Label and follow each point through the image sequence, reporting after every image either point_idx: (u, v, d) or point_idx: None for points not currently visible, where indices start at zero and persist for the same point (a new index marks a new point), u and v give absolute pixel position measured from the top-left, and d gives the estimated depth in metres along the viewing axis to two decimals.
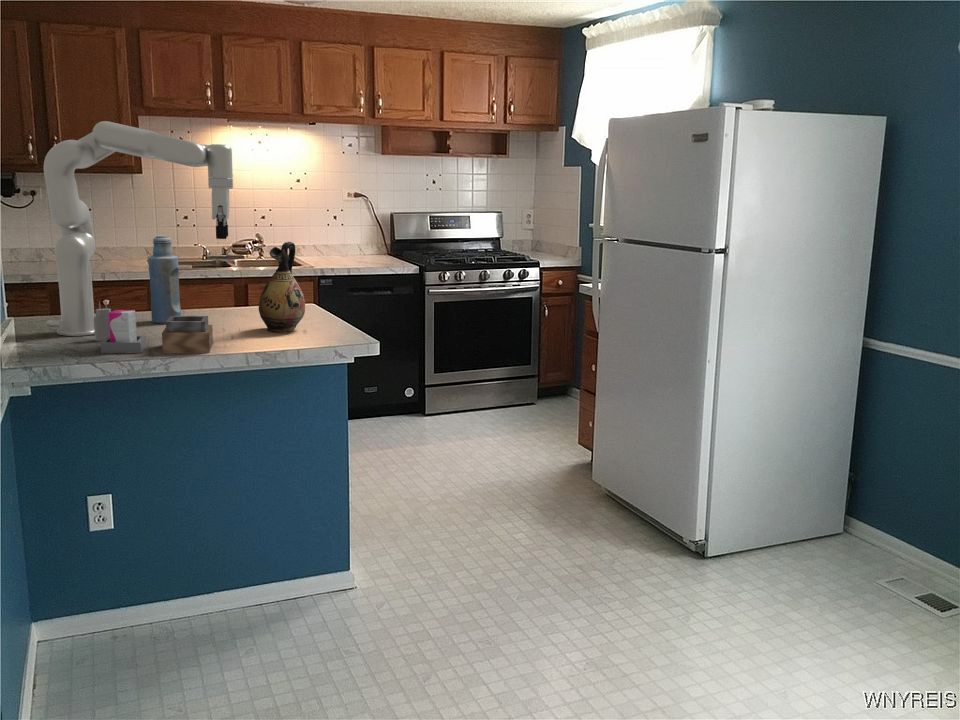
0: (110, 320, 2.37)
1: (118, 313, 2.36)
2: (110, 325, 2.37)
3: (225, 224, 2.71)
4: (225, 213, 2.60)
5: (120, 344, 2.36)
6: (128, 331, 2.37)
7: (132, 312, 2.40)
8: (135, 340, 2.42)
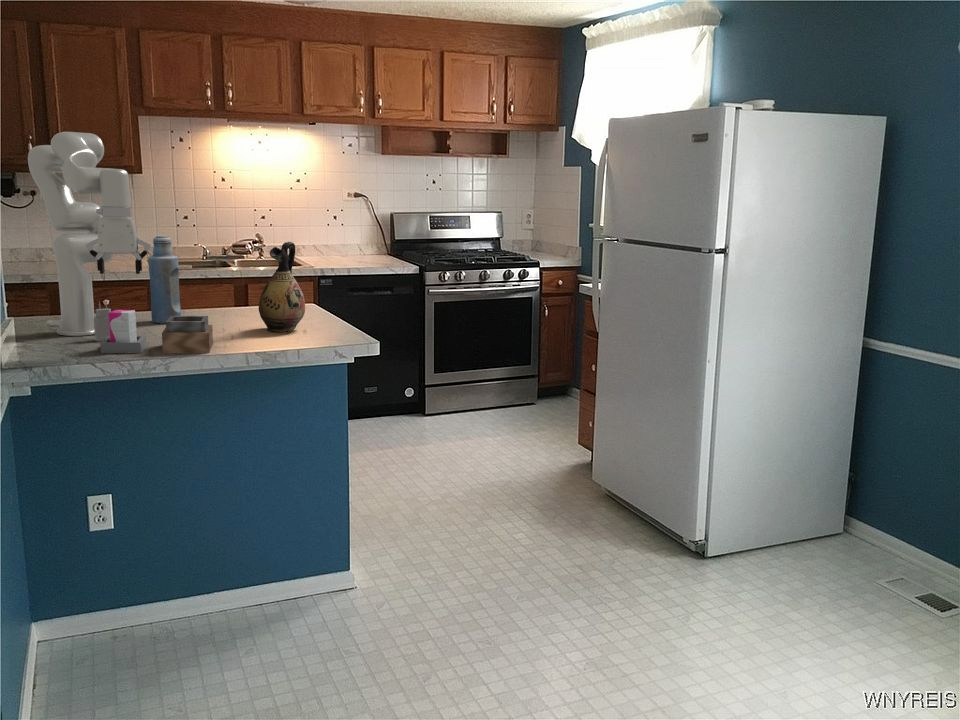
0: (110, 320, 2.37)
1: (118, 313, 2.36)
2: (110, 325, 2.37)
3: None
4: (137, 245, 2.37)
5: (120, 344, 2.36)
6: (128, 331, 2.37)
7: (132, 312, 2.40)
8: (135, 340, 2.42)
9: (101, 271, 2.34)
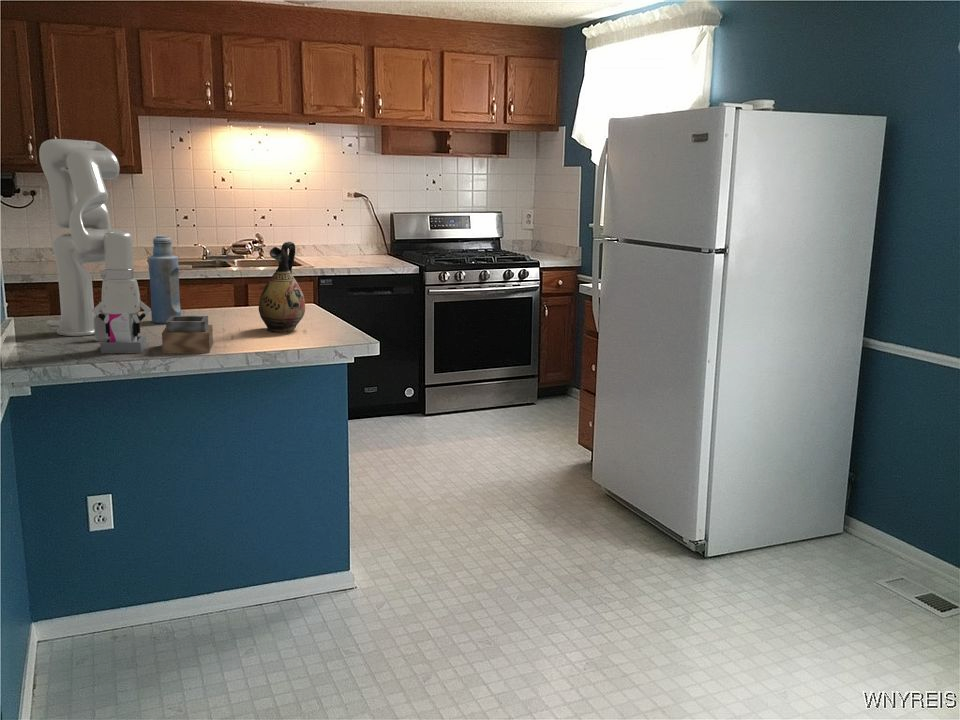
0: (110, 320, 2.37)
1: None
2: (110, 325, 2.37)
3: None
4: None
5: (120, 344, 2.36)
6: (128, 331, 2.37)
7: None
8: (135, 340, 2.42)
9: (109, 334, 2.38)
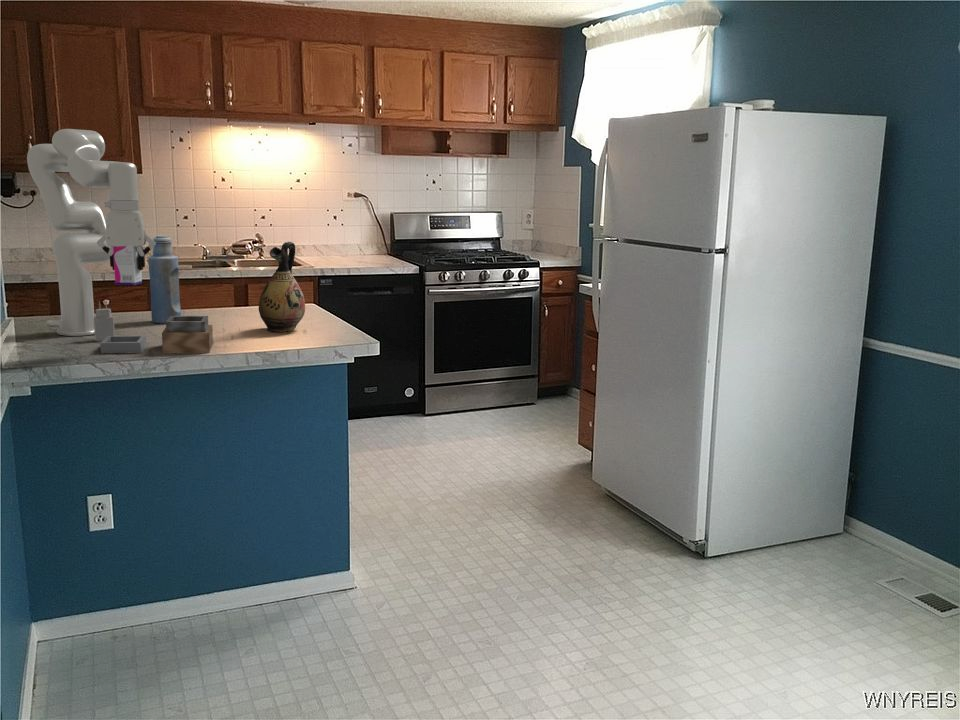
0: (114, 252, 2.33)
1: None
2: (114, 258, 2.33)
3: None
4: (144, 241, 2.37)
5: (120, 344, 2.36)
6: (133, 263, 2.34)
7: None
8: (140, 274, 2.38)
9: None
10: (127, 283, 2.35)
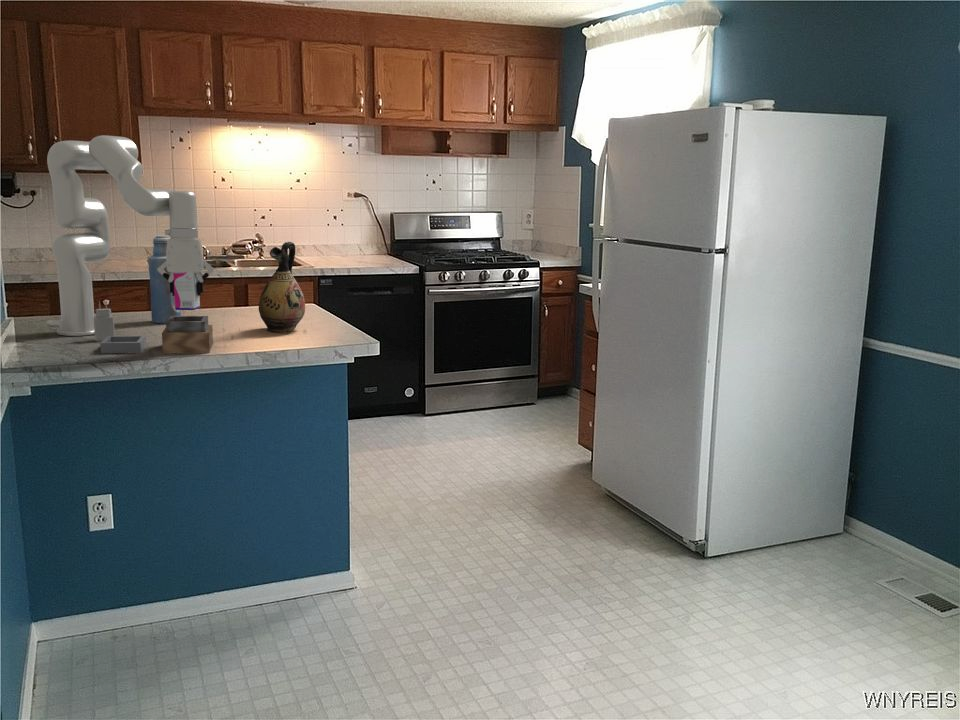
0: (175, 279, 2.38)
1: None
2: (175, 284, 2.38)
3: None
4: None
5: (120, 344, 2.36)
6: (193, 289, 2.39)
7: None
8: (198, 300, 2.44)
9: None
10: (187, 308, 2.40)
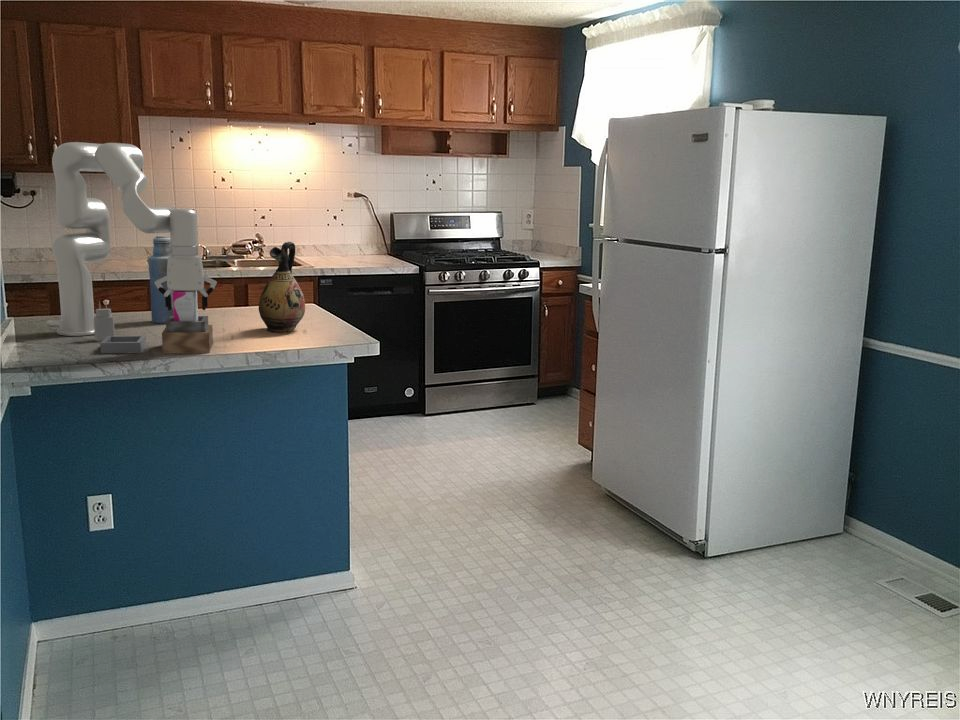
0: (174, 299, 2.39)
1: (182, 292, 2.39)
2: (174, 304, 2.40)
3: None
4: None
5: (120, 344, 2.36)
6: (192, 310, 2.40)
7: (195, 292, 2.43)
8: (197, 320, 2.45)
9: (169, 308, 2.40)
10: None
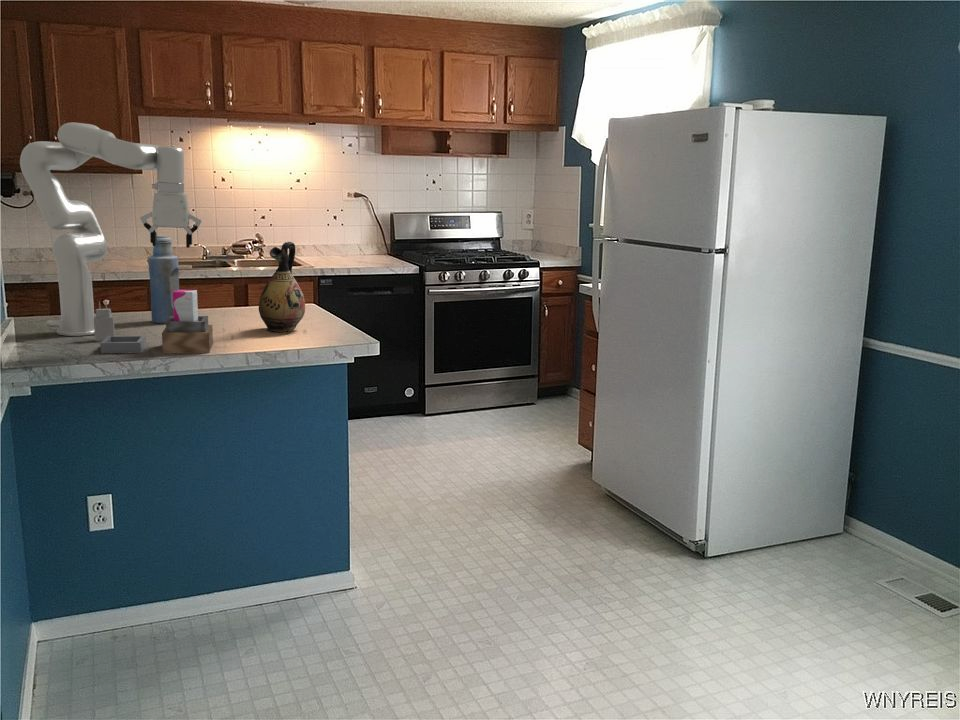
0: (174, 299, 2.39)
1: (182, 292, 2.39)
2: (174, 304, 2.40)
3: None
4: None
5: (120, 344, 2.36)
6: (192, 310, 2.40)
7: (195, 292, 2.43)
8: (197, 320, 2.45)
9: (154, 243, 2.46)
10: None
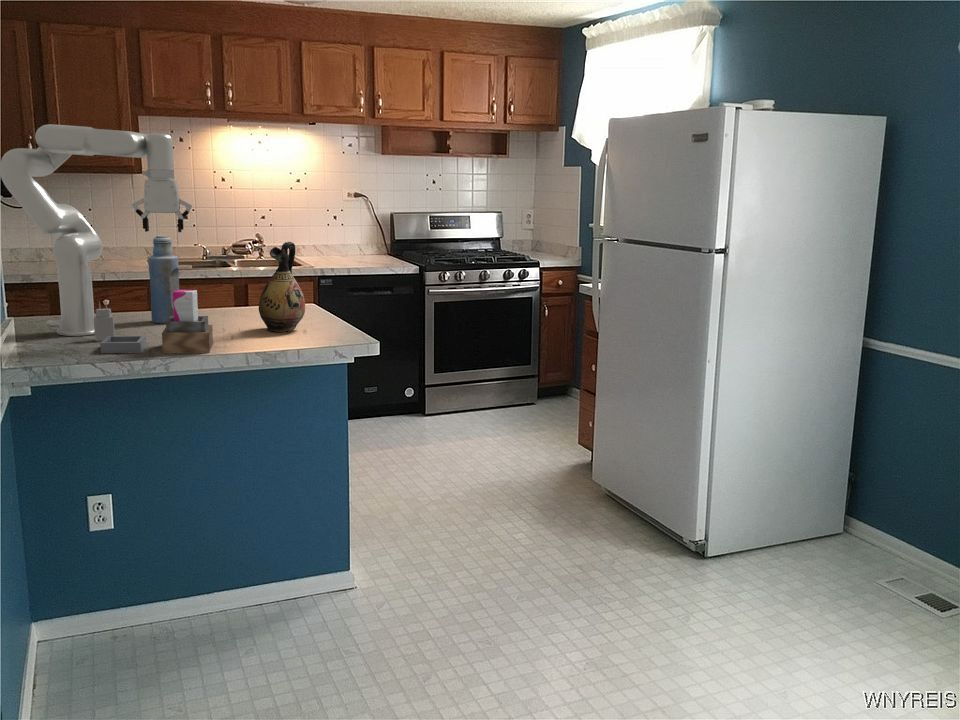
0: (174, 299, 2.39)
1: (182, 292, 2.39)
2: (174, 304, 2.40)
3: None
4: (179, 205, 2.55)
5: (120, 344, 2.36)
6: (192, 310, 2.40)
7: (195, 292, 2.43)
8: (197, 320, 2.45)
9: (146, 229, 2.52)
10: None
